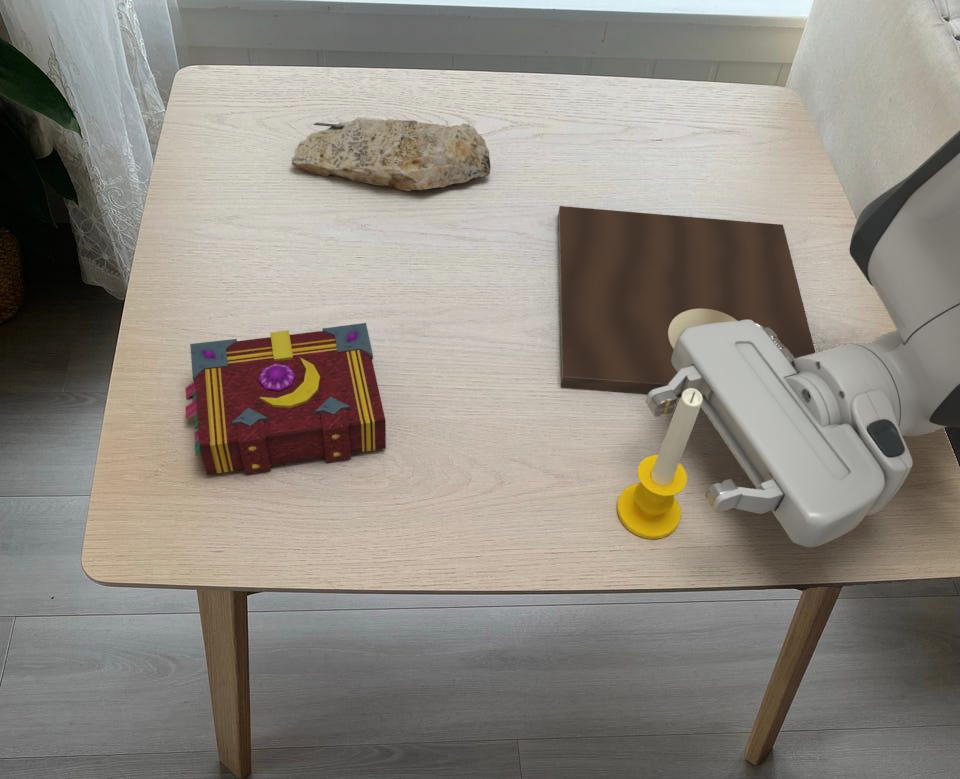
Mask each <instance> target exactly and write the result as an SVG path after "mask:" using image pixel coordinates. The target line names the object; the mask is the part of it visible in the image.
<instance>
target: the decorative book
mask: <svg viewBox="0 0 960 779" xmlns="http://www.w3.org/2000/svg"><path fill="white" fill-rule="evenodd" d="M367 325H368V324H367V322H361V323H353V324H348V325H347V324H345V325H339V326H331V327H323V328H322V330H319V331H311V332H302V333H294V334H290V330H289V329H288V330H287V329H286V330H279V331H270V333H269V334H270V336H268V337H260V338H252V339H245V340H243V339H242V340H237V338H231V339H230V338H229V339H223V340H213V341H204V342H195V343H190V344H189V345H190V346H189V347H190V359H191V360H190V361H191V372H192V373H191V375H192V381H193V382H192V383H191V384H189V385H187V386H186V387H185V400H188V399H189V398H191V397H192V402H190V403H188V404H187V405H185V407H184V408H185V419H186V420H187V419H189V418H190V417H191V416H193V415H194V414H195V413H196V414H197V415H196V416H195V417H194V451H195V457H197V456H198V455H199V453H200V454H201V459H202V462H203V467H204V471H205V474H206V476H209V475H218V474H223V473H230V472H236V471H244V474H245V475H252V474H258V473H264V472H265V473H266V472H271V471H272V469H271V466H277V465H284V464H291V463H297V462H298V463H299V462H305V461H312V460H317V459H324V458H325V459H324V460H325V463H330V462H339V461H343V460H351V459H352V457H351V455H352V454H359V453H364V452H366V453H367V452H373V451H378V450H386V449H387V444H386V443H387V442H386V441H387V440H386V439H387V437H386V436H387V435H386V434H387V433H386V429H387V428H386V427H387V424H386V422H387V421H386V417H385V412H384V407H383V402H382V398H381V394H380V389H379V385H378V381H377V376H376V372H375V367H374V362H373V360H374V354H373V349H372V343H371V339H370V334H369V331H368V326H367Z"/></svg>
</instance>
